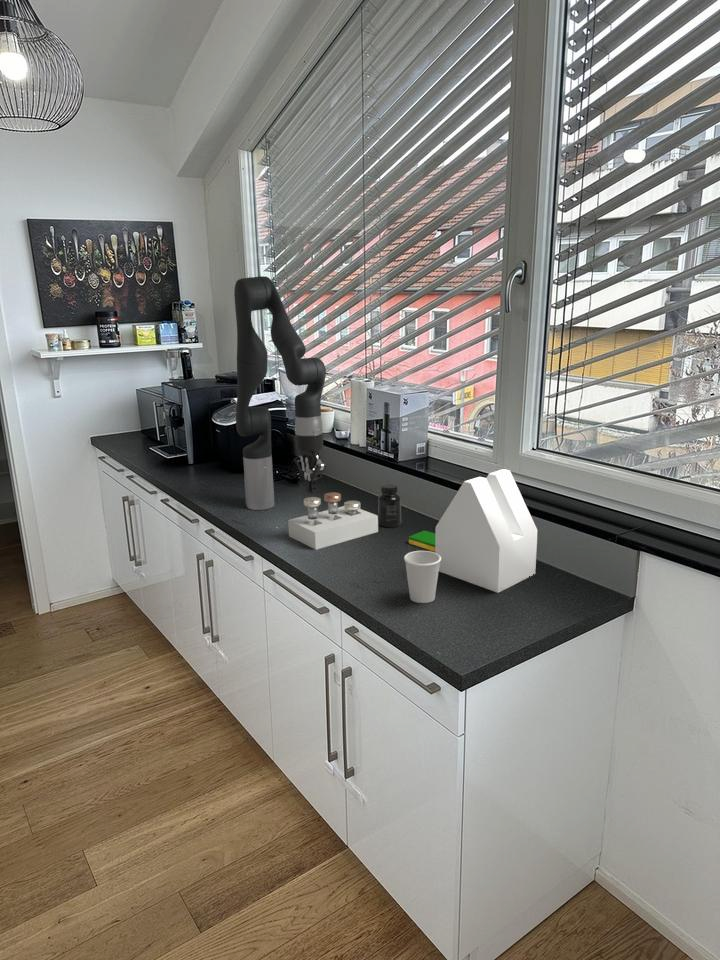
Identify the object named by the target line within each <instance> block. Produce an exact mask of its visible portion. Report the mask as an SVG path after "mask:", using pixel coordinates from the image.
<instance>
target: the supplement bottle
mask: <svg viewBox="0 0 720 960" xmlns="http://www.w3.org/2000/svg"><path fill="white" fill-rule="evenodd" d="M380 492H381V494H379V496H378V499H377V501H378V502H377V505H378V506H377V507H378V525H379V526H380V527H383V528H396V527H399V526H401V524H402V499H401V498H402V497H401V495H400V494H399V493H398V492H399V491H398V485H396V484H392V483H391V484H390V483H389V484H383V485H381V487H380Z"/></svg>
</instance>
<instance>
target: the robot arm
mask: <svg viewBox="0 0 720 960" xmlns="http://www.w3.org/2000/svg"><path fill="white" fill-rule="evenodd" d="M233 291H234V296H233V297H234V298H233V299H234V308H235V319H236V337H237V339H236V377H237V378H236V379H237V392H236V393H237V397H236V410H235V411H236V412H235V425H236V426H235V427H236V433H237V434H238V435H239V436H240V437H256V436H258V438H257V439H256V440H254V441H253V442H251V443H249V444H248V445H246V446H244V447H243V448H242V460H243V471H244V472H243V473H244V475H243V476H244V478H243V479H244V480H243V481H244V494H245V495H244V496H245V497H244V498H245V505H246V508H247V509H248V510H254V511H262V510H269V509H271V508H273V507H274V506H275V490H274V476H273V475H274V474H273V470H274V469H273V457H272V456H273V455H272V418H271V413H270V410H269V408H268V407H267V406H264V405H263V406H262V405H261V406H250V403H251V400H252V397H253V395H254V394H255V392H256V391H257V389H258V388H259V387H260V386H261V384H262V383H263V382H264V380H265V378H266V376H267V374H268V363H269V362H268V360H269V359H268V358H269V357H268V356H269V354H268V349H267V347H266V345H265V344H264V341H263V340H262V339H261V338H260V336H259V335H258V333H257V332H256V330H255V328H254V325H253V320H252V312H254V311H255V312H256V311H262V310H268V311H269V312H270V314H271V316H272V318H271V319H272V320H271V321H272V322H271V326H270V339H271V340H272V343H273V345H274V347H275V348H276V350H277V352H278V354H279V355H280V357H281V359H282V363H283V365H284V370H285V375H286V378H287V380H288V382H289V383H291V384H292V385H294V386H298V387H299V386H306V385H307V386H306V389H305V390H304V392H302V393H299V394H297V395H296V396H295V397H294V412H295V413H294V417H295V418H294V436H295V438H294V439H295V449H296V450H297V451H298V452H299V453H298V454H299V456H296V457H295V458H294V462H295V463H296V466H297V468H298V471H299V473H300V476H301V477H304V480H305V483H306V485H305V486H306V488H305V489H306V493H307V494H309V495H310V494H315V493H316V492H317V480H320V479H321V478H322V476H323V474H324V472H325V470H326V468H327V463H325V462H322V460H321V459H322V456H321V453H320V451H321V450H322V449H323V448H324V437H323V436H324V435H323V420H322V406H321V404H322V403H321V399H322V395H323V390H324V386H325V382H326V375H327V369H326V365H325V363H324V362H323V360H322V359H321V358H319V357H307V358H306V357H305V358H303V357H304V356H305V354H306V349H307V348H306V346H305V344H304V341H303V340H302V338H301V337H300V335H299V334H298V332H297V331H296V330H295V328H294V326H293V325H292V322H291V320H290V318H289V316H288V313H287V311H286V309H285V306H284V304H283V301H282V299H281V296H280V295H279V294H280V293H279V292H278V289H277V287H276V285H275V283H274V282H273V281H272V279H271V278H269V277H267V276H255V277H254V276H253V277H252V276H251V277H243V278H239V279H237V280H236V282H235V285H234V290H233Z"/></svg>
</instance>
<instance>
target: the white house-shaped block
mask: <svg viewBox="0 0 720 960" xmlns="http://www.w3.org/2000/svg"><path fill="white" fill-rule="evenodd" d="M532 517H533V516H532V515H531V513H530V511H529V508H528V507H527V505H526V503H525V501H524V497H523V496H522V493H521V491H520V489H519V487H518V485H517V482H516V481H515V478H514V477H513V474H512V471H510V469H509V470H508V469H504V468H503V469H502V468H501V469H499V470H497V471H492V472H490V473H488V474H487V476H486V477H482V476H478V477H474V478H471V479H468V480H464V481H463V482H462V484H461V486H460V487H459V489H458V490H457V493H456V494H455V495H454V497H453V498H452V500H451V502H450V503H449V505H448V507H447V508H446V510H445V511H444V513H443V514H442V516H441V518H440V519H439V521H438V522H437V524H436V526H435V534H436V535H435V552H434V553H437V554H438V555H439V556H440V557H441V561H440V565H439V573H443V574H446V575H448V576H450V577H453V578H456V579H459V580H462V581H465V582H467V583H470V584H472V585H476V586H478V587H481V588H484V589H486V590H489V591H492V592H494V593H497V594H498V593H501V592H503V591H505V590H506V589H508V588H511V587H512V586H514V585H516V584H518V583H520V582H522V581H524V580H526V579H528V578H530V577H532V576H534V575H536V569H537V568H536V565H537V549H538V548H537V547H538V528H537V526H536V524H535V522H534V519H533V518H532ZM533 574H534V575H533ZM529 576H530V577H529Z"/></svg>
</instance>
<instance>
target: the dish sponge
mask: <svg viewBox="0 0 720 960" xmlns="http://www.w3.org/2000/svg"><path fill="white" fill-rule="evenodd" d="M435 535H436V532H431V531H427V530H422V531H419V532H417V533H415V534H412V535H409V536H408V544H410V545H412V546H416V547H419V548H422V549H425V550H427V551H430V552H434V553H435Z"/></svg>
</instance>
